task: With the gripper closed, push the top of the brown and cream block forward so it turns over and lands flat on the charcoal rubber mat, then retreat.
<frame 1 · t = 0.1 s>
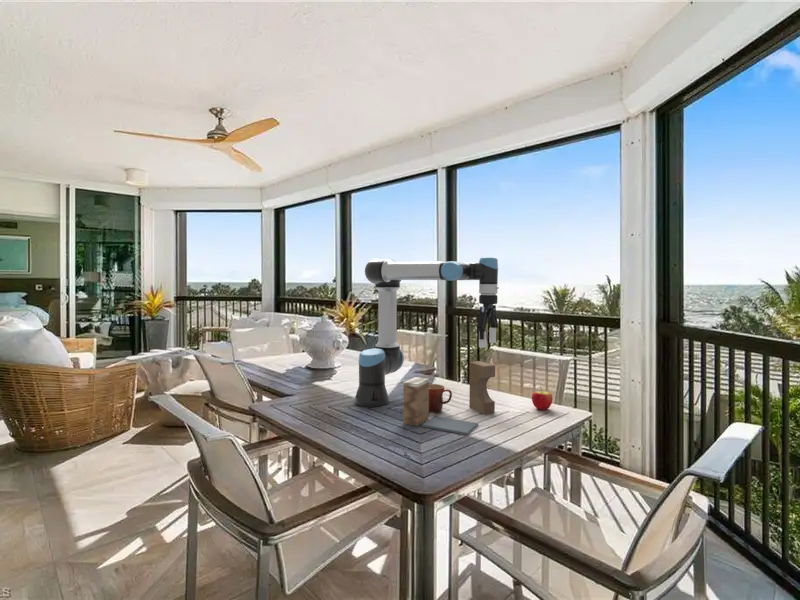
hand: (487, 345, 186), 28 cm above the table, fingers open, 13 cm apart
brown and cream block: (416, 420, 175), on the table
apple: (541, 409, 190), on the table
mug: (437, 411, 188), on the table
decorative block: (481, 410, 189), on the table
mat: (450, 425, 169), on the table
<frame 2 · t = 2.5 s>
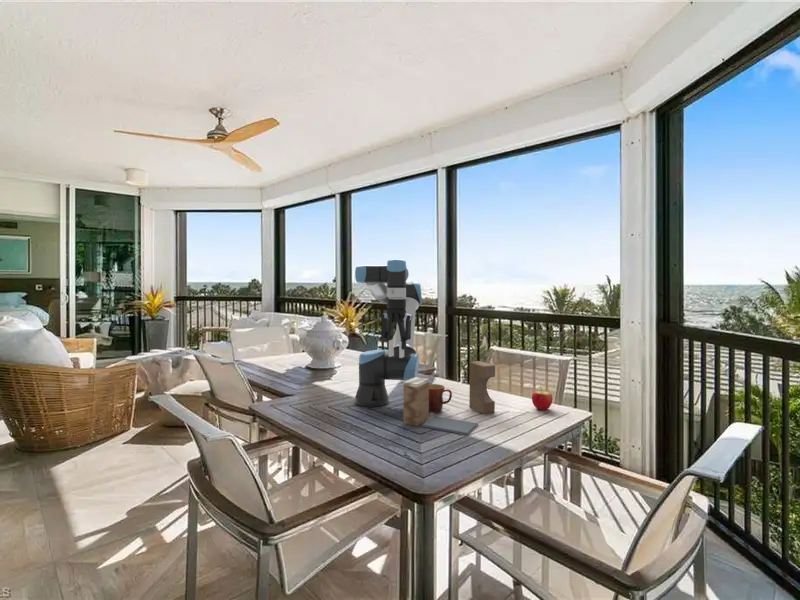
hand: (396, 356, 178), 25 cm above the table, fingers open, 4 cm apart
nothing on the table moved.
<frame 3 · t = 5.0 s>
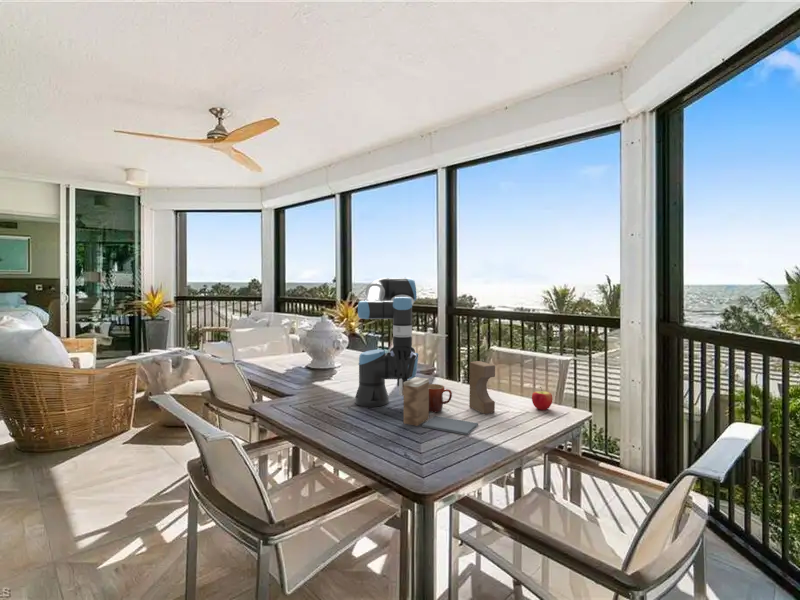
hand: (402, 394, 177), 10 cm above the table, fingers closed
brown and cream block: (416, 420, 175), on the table, touching gripper
everything else where it was.
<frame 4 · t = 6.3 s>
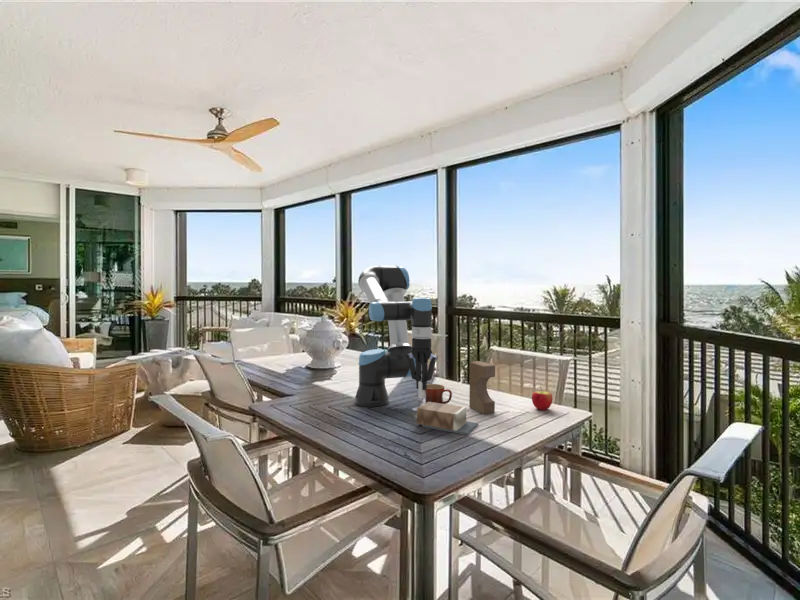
hand: (421, 397, 173), 10 cm above the table, fingers closed
brown and cream block: (422, 412, 173), point 4 cm above the table, tilted 90°, touching mat
everything else where it was.
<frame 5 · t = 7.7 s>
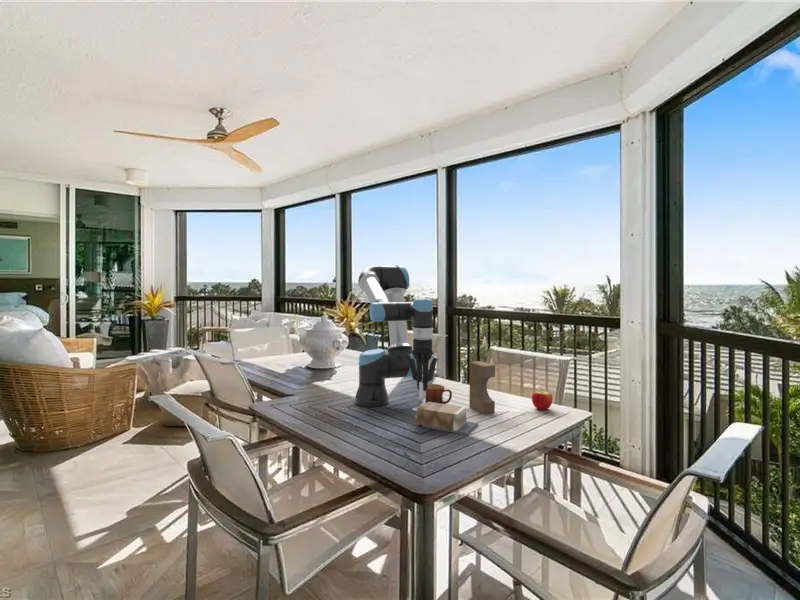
hand: (422, 398, 173), 9 cm above the table, fingers closed
nothing on the table moved.
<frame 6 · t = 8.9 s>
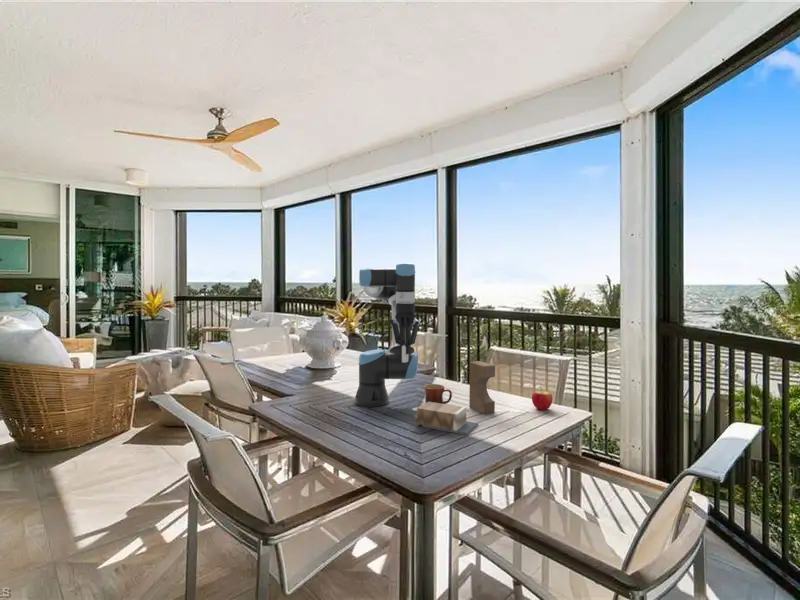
hand: (405, 361, 176), 23 cm above the table, fingers closed
nothing on the table moved.
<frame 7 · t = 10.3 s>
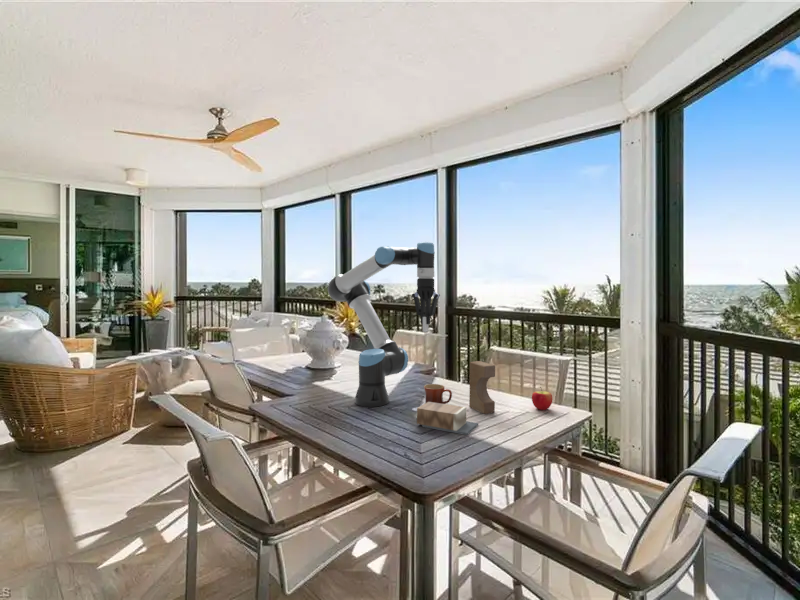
hand: (425, 331, 196), 32 cm above the table, fingers closed
nothing on the table moved.
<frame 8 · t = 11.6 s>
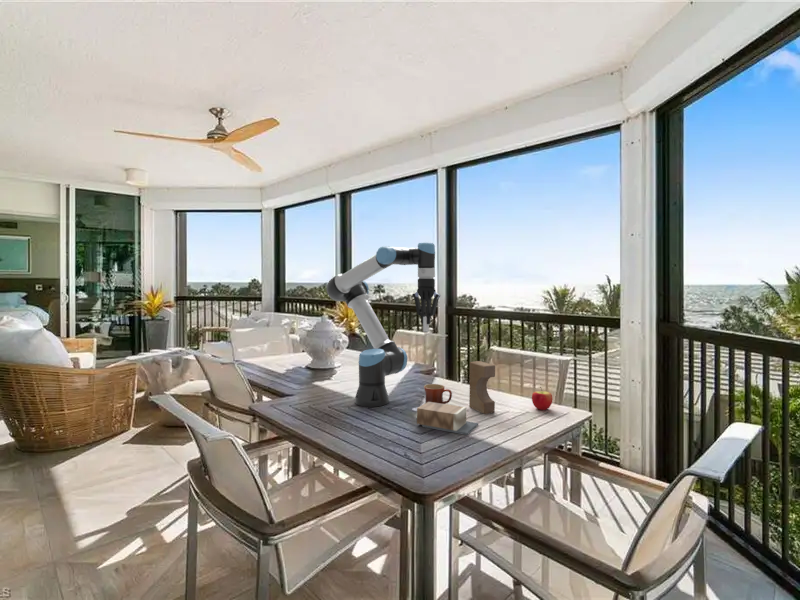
hand: (426, 331, 196), 32 cm above the table, fingers closed
nothing on the table moved.
at the end: brown and cream block tilted 90°; brown and cream block inside the target area (11.2 cm from its centre), point 3.8 cm above the table; brown and cream block touching mat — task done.
